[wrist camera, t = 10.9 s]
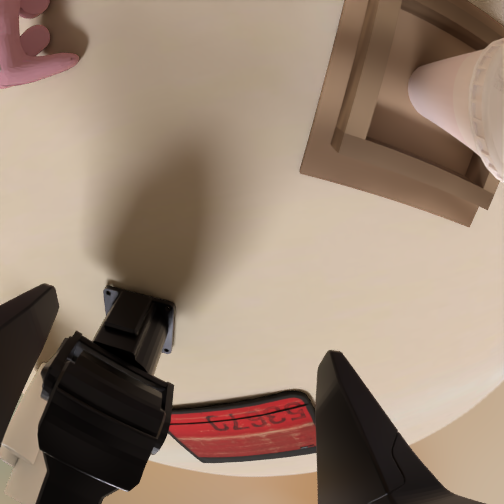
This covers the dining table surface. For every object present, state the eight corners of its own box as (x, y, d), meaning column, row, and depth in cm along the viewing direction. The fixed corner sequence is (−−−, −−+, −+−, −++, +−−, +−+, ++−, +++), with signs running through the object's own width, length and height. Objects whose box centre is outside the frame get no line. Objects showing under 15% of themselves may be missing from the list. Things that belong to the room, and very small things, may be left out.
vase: (96, 411, 39) (57, 522, 22) (63, 405, 40) (24, 504, 23) (56, 363, 33) (-3, 489, 16) (24, 359, 34) (-33, 468, 17)
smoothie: (466, 49, 13) (643, 74, 1) (472, 139, 17) (628, 239, 5) (381, 41, 14) (563, 16, 2) (392, 141, 17) (550, 263, 5)
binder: (333, 451, 37) (202, 464, 42) (332, 438, 39) (205, 453, 44) (303, 395, 30) (143, 414, 35) (303, 378, 32) (148, 401, 37)
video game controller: (55, -25, 13) (-23, -16, 8) (85, -51, 11) (-5, -48, 6) (57, 79, 18) (-24, 104, 13) (85, 66, 16) (-11, 90, 11)
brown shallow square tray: (466, 224, 20) (485, 243, 18) (299, 171, 19) (303, 186, 17) (521, 44, 12) (546, 45, 10) (356, -50, 11) (368, -67, 9)
